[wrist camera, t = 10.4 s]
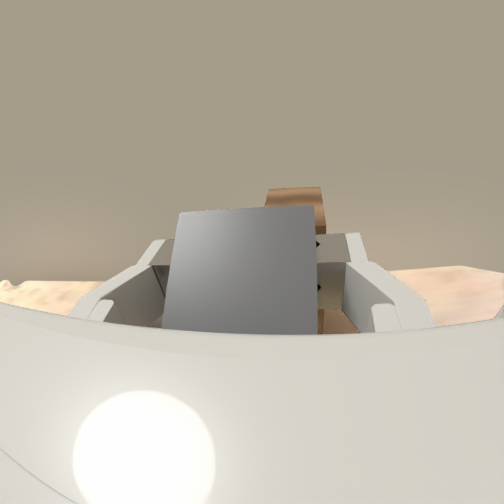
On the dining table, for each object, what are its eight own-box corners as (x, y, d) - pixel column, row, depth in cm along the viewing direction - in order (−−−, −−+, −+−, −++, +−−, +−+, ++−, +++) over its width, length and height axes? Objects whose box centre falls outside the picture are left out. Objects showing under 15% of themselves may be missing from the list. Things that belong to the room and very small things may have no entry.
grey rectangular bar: (269, 368, 27) (271, 321, 29) (310, 368, 26) (311, 321, 28) (159, 345, 7) (184, 191, 9) (317, 354, 6) (312, 182, 8)
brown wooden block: (281, 307, 59) (268, 189, 45) (319, 306, 58) (320, 186, 43) (276, 354, 50) (259, 227, 35) (320, 354, 48) (326, 225, 34)
